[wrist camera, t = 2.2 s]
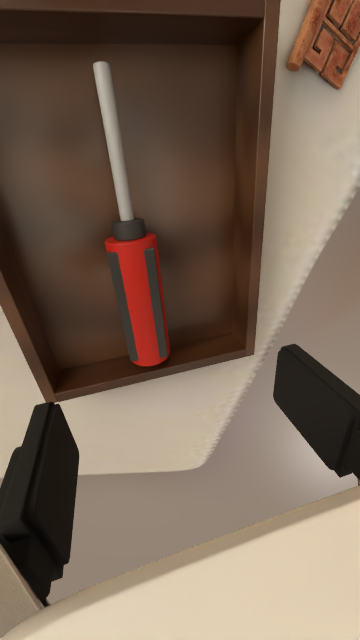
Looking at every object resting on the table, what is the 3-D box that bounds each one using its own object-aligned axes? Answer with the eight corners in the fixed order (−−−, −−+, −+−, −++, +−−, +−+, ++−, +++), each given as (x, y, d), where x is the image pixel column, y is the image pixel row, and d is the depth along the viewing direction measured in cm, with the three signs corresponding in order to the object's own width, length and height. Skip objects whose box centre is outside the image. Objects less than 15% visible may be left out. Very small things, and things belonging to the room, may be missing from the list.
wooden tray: (-95, 21, 11) (-157, -29, 9) (247, 28, 15) (281, -7, 12) (53, 376, 21) (46, 405, 19) (237, 335, 25) (254, 354, 22)
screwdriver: (75, 78, 14) (56, 51, 11) (136, 73, 14) (133, 46, 11) (131, 344, 22) (128, 369, 19) (168, 340, 22) (171, 363, 19)
